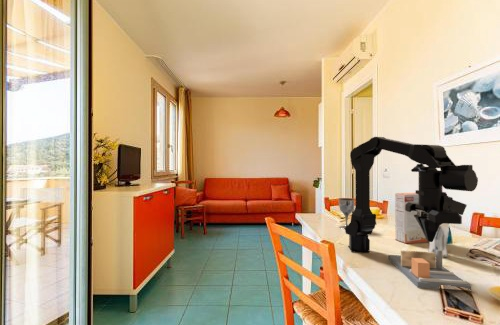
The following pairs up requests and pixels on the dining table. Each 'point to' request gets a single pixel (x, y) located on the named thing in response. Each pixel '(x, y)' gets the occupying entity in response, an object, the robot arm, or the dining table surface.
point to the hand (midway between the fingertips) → (429, 241)
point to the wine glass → (346, 207)
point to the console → (431, 274)
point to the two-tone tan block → (428, 256)
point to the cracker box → (407, 220)
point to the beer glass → (440, 240)
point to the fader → (420, 268)
